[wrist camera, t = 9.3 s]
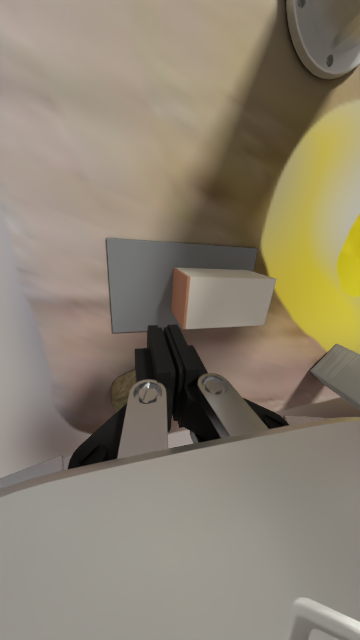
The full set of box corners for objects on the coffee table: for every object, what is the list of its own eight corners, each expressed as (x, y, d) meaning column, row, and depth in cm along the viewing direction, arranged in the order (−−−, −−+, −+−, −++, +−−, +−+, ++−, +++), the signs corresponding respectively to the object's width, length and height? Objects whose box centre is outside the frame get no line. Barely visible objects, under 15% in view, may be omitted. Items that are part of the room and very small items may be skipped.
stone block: (108, 378, 30) (106, 403, 26) (176, 346, 31) (186, 365, 27) (126, 402, 33) (127, 428, 28) (187, 371, 34) (198, 392, 30)
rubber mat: (106, 237, 22) (106, 237, 22) (256, 248, 28) (258, 248, 28) (112, 331, 27) (112, 332, 27) (240, 325, 32) (241, 325, 32)
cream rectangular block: (187, 277, 20) (276, 279, 23) (173, 267, 25) (247, 270, 28) (182, 329, 23) (264, 325, 26) (171, 310, 28) (239, 308, 31)
